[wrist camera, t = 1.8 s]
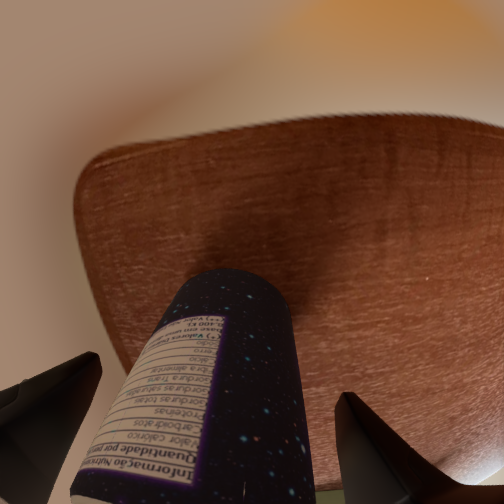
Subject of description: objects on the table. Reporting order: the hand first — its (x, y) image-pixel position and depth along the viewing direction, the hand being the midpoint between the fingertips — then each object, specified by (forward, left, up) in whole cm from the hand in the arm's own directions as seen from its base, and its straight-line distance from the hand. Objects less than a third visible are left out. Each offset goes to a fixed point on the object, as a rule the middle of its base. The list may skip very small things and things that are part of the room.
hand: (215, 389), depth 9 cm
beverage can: (0, 0, -5) cm, 5 cm away
